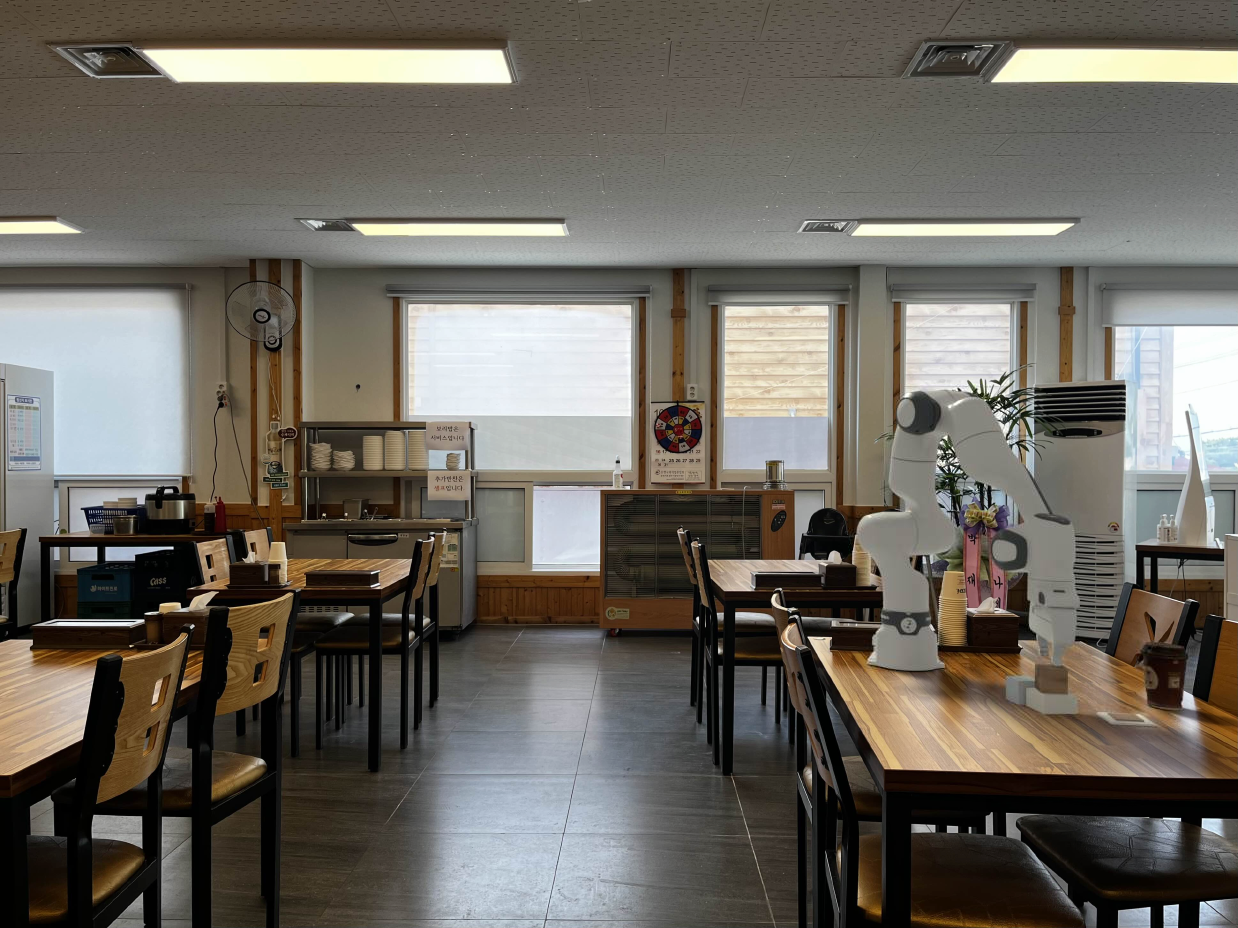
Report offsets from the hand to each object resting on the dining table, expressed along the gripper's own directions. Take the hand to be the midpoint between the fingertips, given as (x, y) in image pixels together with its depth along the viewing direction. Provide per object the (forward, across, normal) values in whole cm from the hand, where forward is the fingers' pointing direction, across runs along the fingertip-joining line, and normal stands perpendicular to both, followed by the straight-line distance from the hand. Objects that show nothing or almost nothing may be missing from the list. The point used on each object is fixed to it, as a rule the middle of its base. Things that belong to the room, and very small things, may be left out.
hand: (1049, 660), depth 187 cm
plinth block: (+10, +1, 0) cm, 10 cm away
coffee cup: (+10, -7, +24) cm, 27 cm away
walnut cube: (+6, 0, 0) cm, 6 cm away
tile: (+10, +7, +12) cm, 17 cm away
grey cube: (+10, -5, -4) cm, 12 cm away
